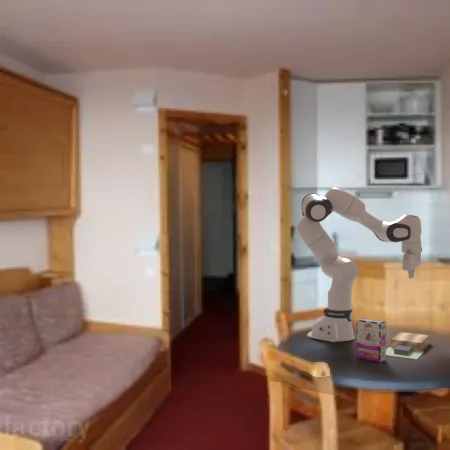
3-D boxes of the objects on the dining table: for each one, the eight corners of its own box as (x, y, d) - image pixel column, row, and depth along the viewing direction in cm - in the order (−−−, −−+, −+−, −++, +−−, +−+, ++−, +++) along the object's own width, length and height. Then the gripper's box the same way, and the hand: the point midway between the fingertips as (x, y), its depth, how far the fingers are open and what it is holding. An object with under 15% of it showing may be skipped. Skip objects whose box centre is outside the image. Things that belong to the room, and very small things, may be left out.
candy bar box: (386, 360, 228) (386, 321, 227) (380, 363, 224) (380, 323, 224) (362, 355, 236) (362, 317, 235) (356, 357, 232) (356, 319, 231)
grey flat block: (393, 353, 237) (394, 348, 237) (399, 348, 245) (399, 344, 245) (408, 355, 234) (408, 350, 234) (413, 350, 242) (413, 345, 242)
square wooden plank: (391, 348, 247) (391, 339, 247) (400, 340, 261) (400, 332, 260) (421, 352, 240) (421, 343, 240) (429, 344, 254) (429, 335, 254)
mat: (380, 354, 236) (380, 354, 236) (389, 347, 247) (389, 347, 247) (416, 359, 229) (416, 359, 229) (423, 352, 240) (423, 351, 240)
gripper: (413, 251, 251) (412, 281, 252) (423, 247, 269) (422, 276, 269) (398, 250, 254) (398, 280, 255) (409, 247, 272) (409, 275, 272)
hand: (411, 278), depth 262 cm, fingers closed
